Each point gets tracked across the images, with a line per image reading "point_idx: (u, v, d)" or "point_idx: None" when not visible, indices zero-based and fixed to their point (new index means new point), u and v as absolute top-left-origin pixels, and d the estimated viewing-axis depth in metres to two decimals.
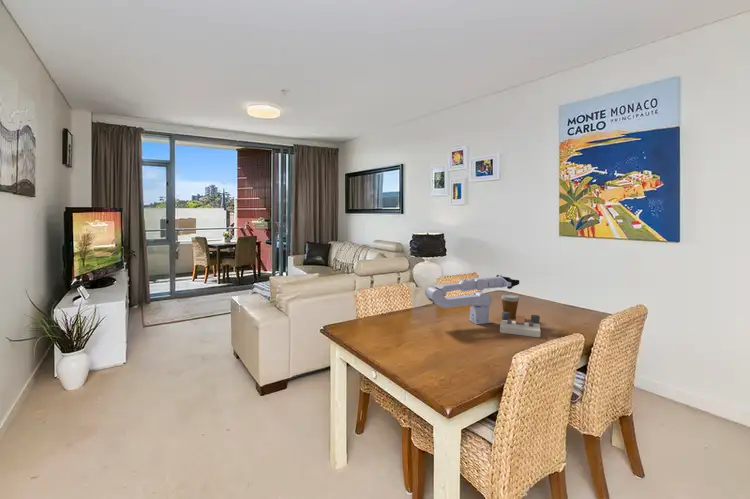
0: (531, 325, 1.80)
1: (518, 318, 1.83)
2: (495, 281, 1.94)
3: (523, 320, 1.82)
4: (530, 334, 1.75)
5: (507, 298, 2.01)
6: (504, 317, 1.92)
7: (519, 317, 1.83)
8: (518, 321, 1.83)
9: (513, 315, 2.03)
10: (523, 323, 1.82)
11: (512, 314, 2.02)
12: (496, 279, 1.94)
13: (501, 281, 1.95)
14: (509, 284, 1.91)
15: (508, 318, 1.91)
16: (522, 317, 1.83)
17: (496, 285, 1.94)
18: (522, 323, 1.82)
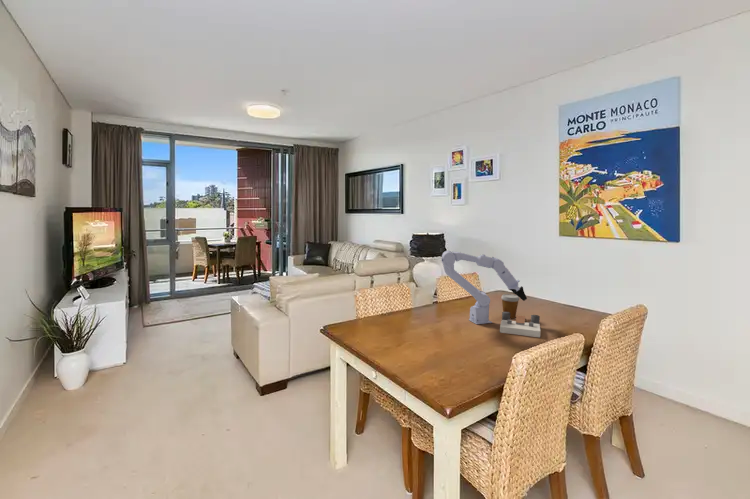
0: (531, 325, 1.80)
1: (518, 318, 1.83)
2: (510, 277, 1.90)
3: (523, 320, 1.82)
4: (530, 334, 1.75)
5: (507, 298, 2.01)
6: (504, 317, 1.92)
7: (519, 317, 1.83)
8: (518, 321, 1.83)
9: (513, 315, 2.03)
10: (523, 323, 1.82)
11: (512, 314, 2.02)
12: (512, 277, 1.91)
13: (514, 283, 1.90)
14: (517, 288, 1.86)
15: (508, 318, 1.91)
16: (522, 317, 1.83)
17: (507, 280, 1.91)
18: (522, 323, 1.82)
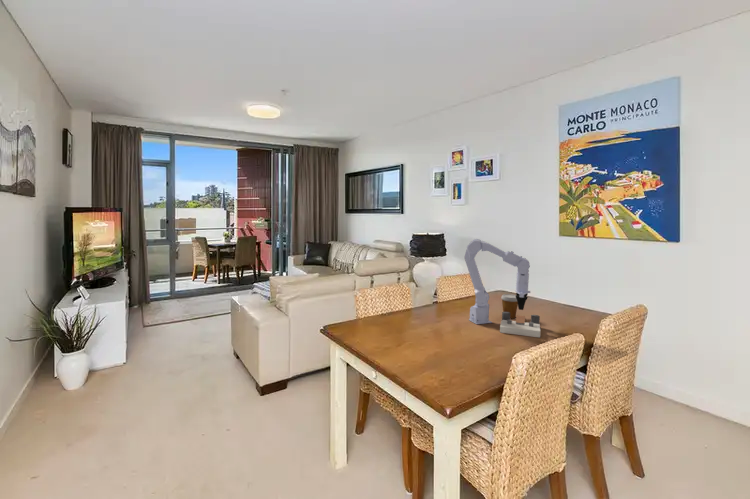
0: (531, 325, 1.80)
1: (518, 318, 1.83)
2: (524, 283, 1.84)
3: (523, 320, 1.82)
4: (530, 334, 1.75)
5: (507, 298, 2.01)
6: (504, 317, 1.92)
7: (519, 317, 1.83)
8: (518, 321, 1.83)
9: (513, 315, 2.03)
10: (523, 323, 1.82)
11: (512, 314, 2.02)
12: (526, 285, 1.85)
13: (523, 290, 1.85)
14: (521, 295, 1.81)
15: (508, 318, 1.91)
16: (522, 317, 1.83)
17: (519, 284, 1.85)
18: (522, 323, 1.82)
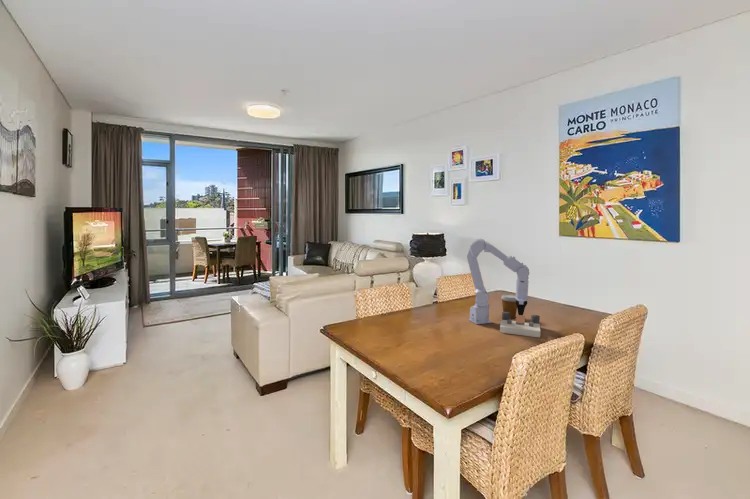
0: (531, 325, 1.80)
1: (518, 318, 1.83)
2: (524, 290, 1.85)
3: (523, 320, 1.82)
4: (530, 334, 1.75)
5: (507, 298, 2.01)
6: (504, 317, 1.92)
7: (519, 317, 1.83)
8: (518, 321, 1.83)
9: (513, 315, 2.03)
10: (523, 323, 1.82)
11: (512, 314, 2.02)
12: (526, 292, 1.85)
13: (523, 297, 1.85)
14: (521, 302, 1.81)
15: (508, 318, 1.91)
16: (522, 317, 1.83)
17: (519, 291, 1.86)
18: (522, 323, 1.82)
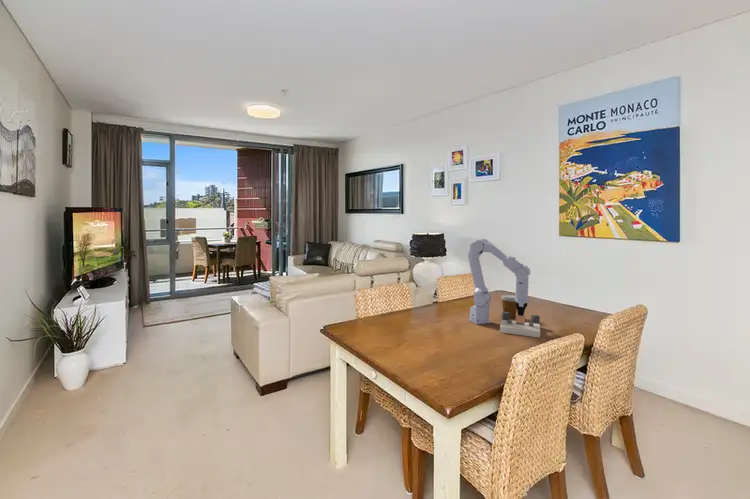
0: (531, 325, 1.80)
1: (518, 318, 1.83)
2: (524, 291, 1.80)
3: (523, 320, 1.82)
4: (530, 334, 1.75)
5: (507, 298, 2.01)
6: (504, 317, 1.92)
7: (519, 317, 1.83)
8: (518, 321, 1.83)
9: (513, 315, 2.03)
10: (523, 323, 1.82)
11: (512, 314, 2.02)
12: (526, 293, 1.80)
13: (523, 299, 1.81)
14: (521, 304, 1.77)
15: (508, 318, 1.91)
16: (522, 317, 1.83)
17: (519, 292, 1.81)
18: (522, 323, 1.82)
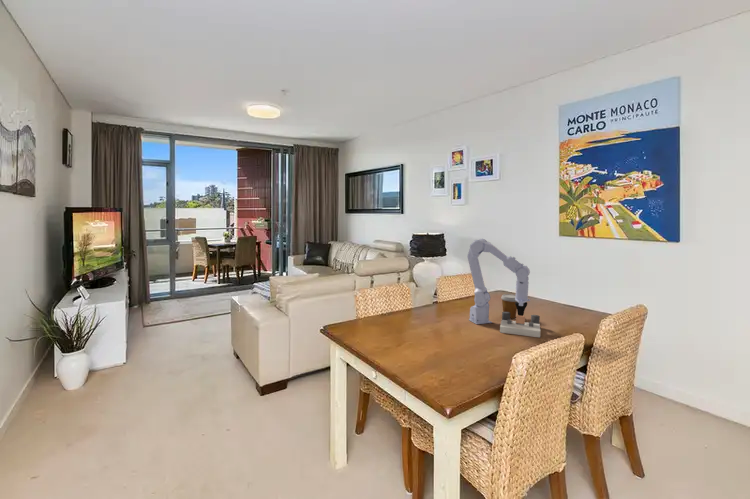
0: (531, 325, 1.80)
1: (518, 319, 1.82)
2: (524, 291, 1.82)
3: (523, 321, 1.81)
4: (530, 334, 1.75)
5: (507, 298, 2.01)
6: (504, 317, 1.92)
7: (519, 318, 1.82)
8: (518, 322, 1.82)
9: (513, 315, 2.03)
10: (523, 323, 1.82)
11: (512, 314, 2.02)
12: (526, 293, 1.82)
13: (523, 298, 1.82)
14: (521, 303, 1.79)
15: (508, 318, 1.91)
16: (522, 318, 1.81)
17: (519, 292, 1.83)
18: (522, 323, 1.82)
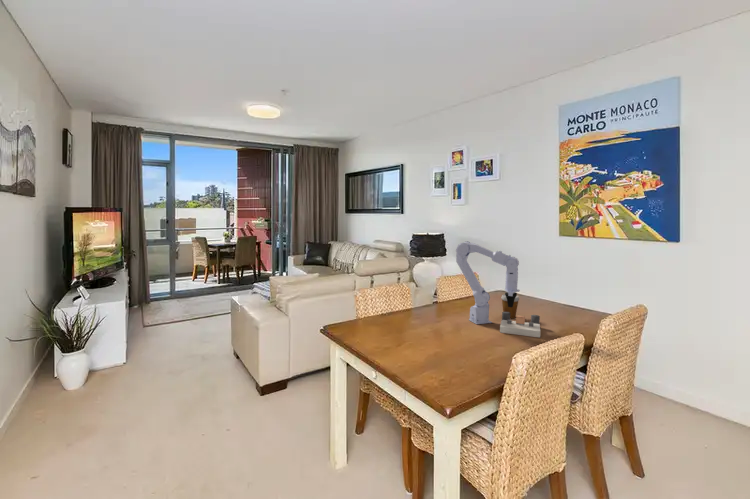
0: (531, 325, 1.80)
1: (518, 319, 1.82)
2: (513, 282, 1.85)
3: (523, 321, 1.81)
4: (530, 334, 1.75)
5: None
6: (504, 317, 1.92)
7: (519, 318, 1.82)
8: (518, 322, 1.82)
9: (513, 315, 2.03)
10: (523, 323, 1.82)
11: (512, 314, 2.02)
12: (515, 283, 1.85)
13: (512, 289, 1.85)
14: (510, 293, 1.82)
15: (508, 318, 1.91)
16: (522, 318, 1.81)
17: (509, 282, 1.86)
18: (522, 323, 1.82)
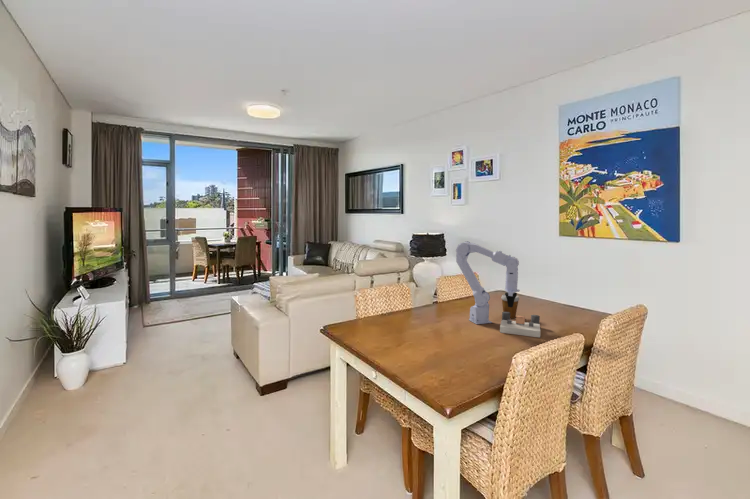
0: (531, 325, 1.80)
1: (518, 319, 1.82)
2: (513, 282, 1.85)
3: (523, 321, 1.81)
4: (530, 334, 1.75)
5: None
6: (504, 317, 1.92)
7: (519, 318, 1.81)
8: (518, 322, 1.82)
9: (513, 315, 2.03)
10: (523, 323, 1.82)
11: (512, 314, 2.02)
12: (515, 283, 1.85)
13: (512, 289, 1.85)
14: (510, 293, 1.82)
15: (508, 318, 1.91)
16: (522, 318, 1.81)
17: (509, 282, 1.86)
18: (522, 323, 1.82)
